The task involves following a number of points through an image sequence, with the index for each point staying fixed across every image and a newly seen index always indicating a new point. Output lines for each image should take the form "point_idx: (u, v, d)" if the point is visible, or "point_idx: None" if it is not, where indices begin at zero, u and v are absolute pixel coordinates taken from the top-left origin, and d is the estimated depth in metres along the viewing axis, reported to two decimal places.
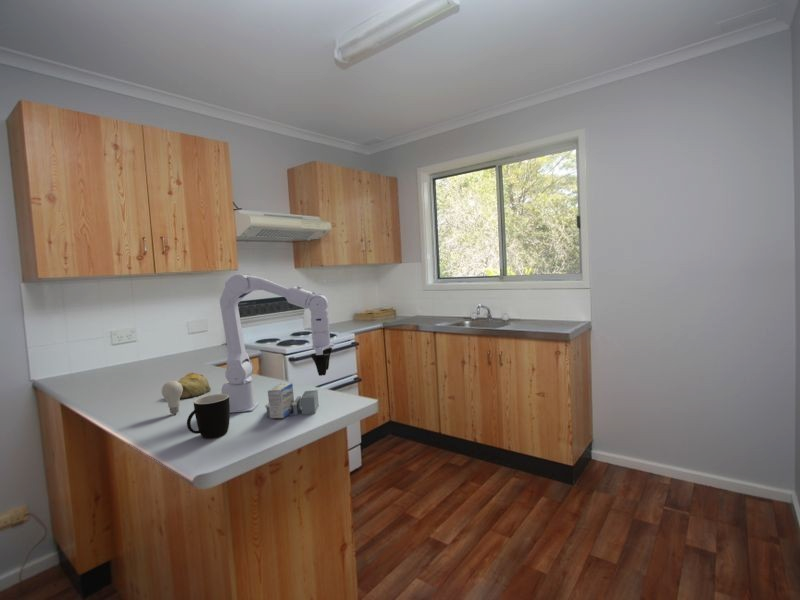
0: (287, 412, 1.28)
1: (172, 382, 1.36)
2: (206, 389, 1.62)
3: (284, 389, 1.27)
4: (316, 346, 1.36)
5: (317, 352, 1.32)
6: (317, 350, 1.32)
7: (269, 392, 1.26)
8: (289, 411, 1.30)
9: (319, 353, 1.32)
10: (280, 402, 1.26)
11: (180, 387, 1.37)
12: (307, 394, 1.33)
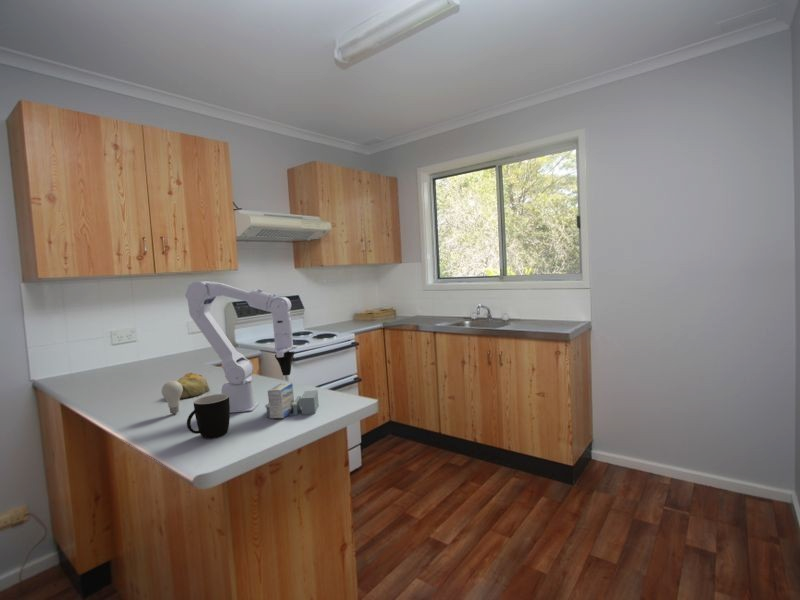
0: (287, 412, 1.28)
1: (172, 382, 1.36)
2: (205, 389, 1.62)
3: (284, 389, 1.27)
4: (278, 348, 1.35)
5: (278, 354, 1.31)
6: (278, 352, 1.31)
7: (269, 392, 1.26)
8: (289, 411, 1.30)
9: (280, 355, 1.31)
10: (280, 402, 1.26)
11: (180, 387, 1.37)
12: (307, 394, 1.33)
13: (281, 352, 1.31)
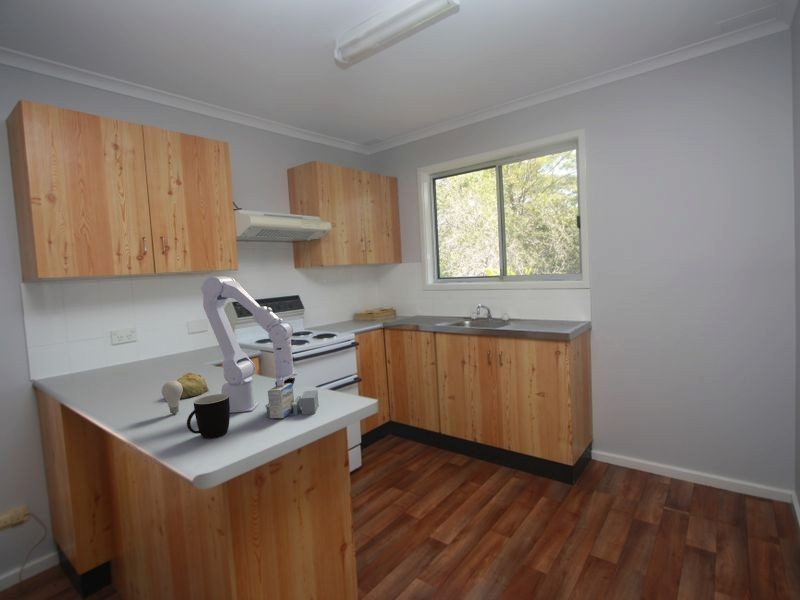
0: (287, 412, 1.28)
1: (172, 382, 1.36)
2: (204, 389, 1.62)
3: (284, 389, 1.27)
4: (278, 376, 1.34)
5: (278, 383, 1.29)
6: (278, 381, 1.29)
7: (269, 392, 1.26)
8: (289, 411, 1.30)
9: (280, 384, 1.29)
10: (280, 402, 1.26)
11: (180, 387, 1.37)
12: (307, 394, 1.33)
13: (281, 380, 1.29)
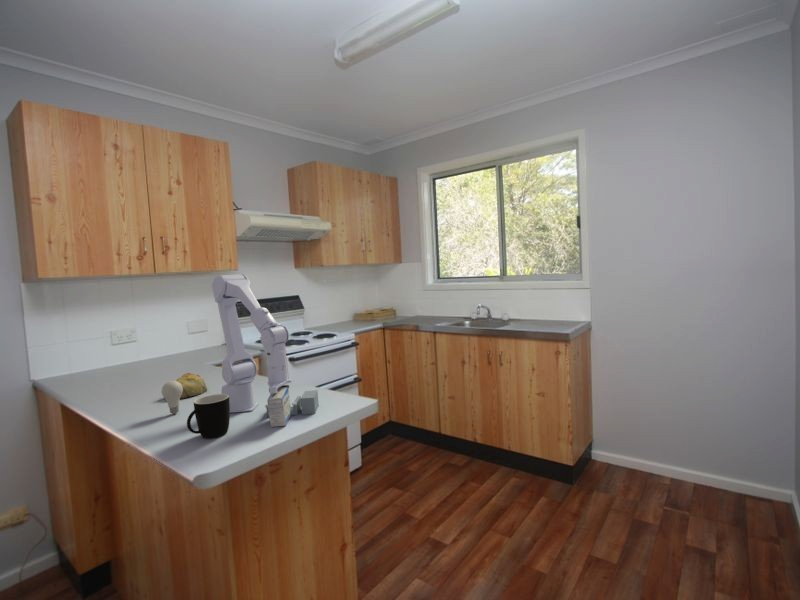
0: (287, 418, 1.23)
1: (172, 382, 1.36)
2: (203, 389, 1.62)
3: (284, 396, 1.21)
4: (271, 383, 1.25)
5: (271, 390, 1.20)
6: (271, 388, 1.20)
7: (269, 401, 1.18)
8: (288, 416, 1.24)
9: (273, 392, 1.20)
10: (282, 410, 1.19)
11: (180, 387, 1.37)
12: (307, 394, 1.33)
13: (275, 388, 1.20)
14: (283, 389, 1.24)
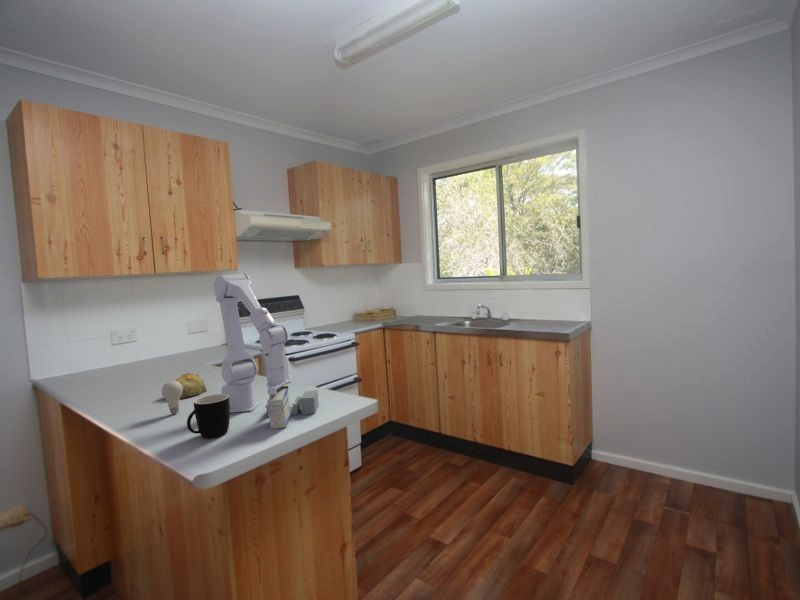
0: (287, 420, 1.21)
1: (172, 382, 1.36)
2: (202, 389, 1.62)
3: (284, 397, 1.19)
4: (270, 384, 1.23)
5: (270, 392, 1.19)
6: (270, 389, 1.19)
7: (269, 403, 1.17)
8: (288, 418, 1.23)
9: (272, 393, 1.19)
10: (282, 412, 1.18)
11: (180, 387, 1.37)
12: (307, 394, 1.33)
13: (274, 389, 1.19)
14: (282, 390, 1.23)
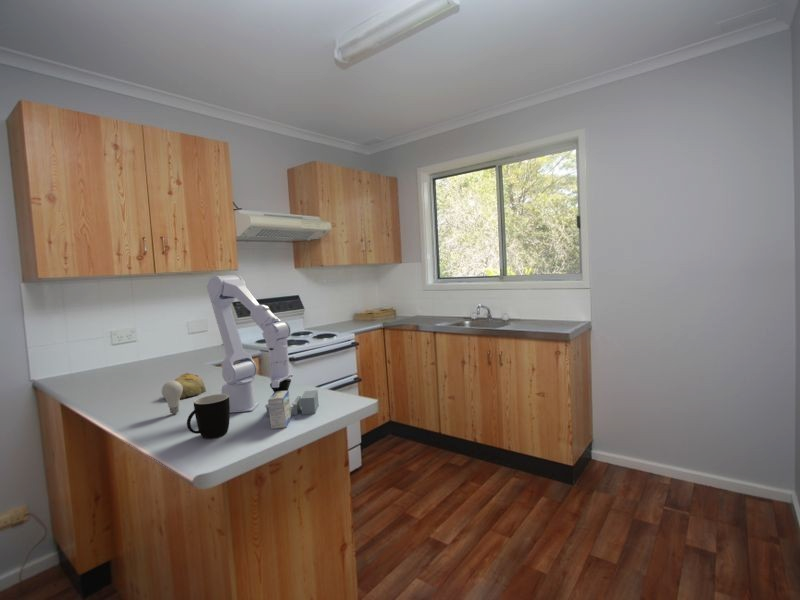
0: (288, 421, 1.22)
1: (172, 382, 1.36)
2: (201, 389, 1.61)
3: (285, 397, 1.21)
4: (273, 377, 1.28)
5: (273, 385, 1.23)
6: (273, 382, 1.23)
7: (270, 401, 1.18)
8: (288, 420, 1.23)
9: (275, 386, 1.23)
10: (283, 411, 1.19)
11: (180, 387, 1.37)
12: (307, 394, 1.33)
13: (276, 382, 1.23)
14: (284, 392, 1.24)
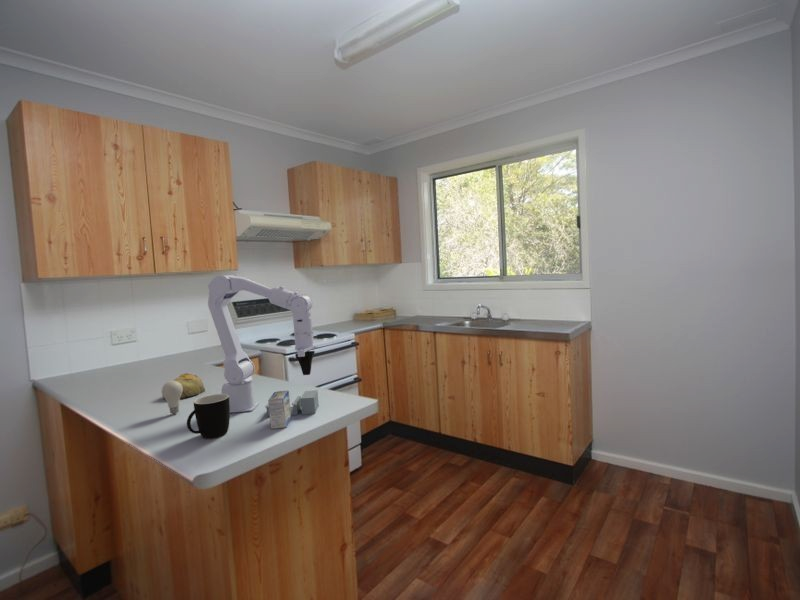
0: (288, 421, 1.22)
1: (172, 382, 1.36)
2: (200, 389, 1.61)
3: (285, 397, 1.21)
4: (298, 348, 1.33)
5: (299, 354, 1.29)
6: (299, 352, 1.29)
7: (270, 401, 1.18)
8: (288, 420, 1.23)
9: (301, 355, 1.29)
10: (283, 410, 1.19)
11: (180, 387, 1.37)
12: (307, 394, 1.33)
13: (302, 351, 1.29)
14: (284, 392, 1.24)
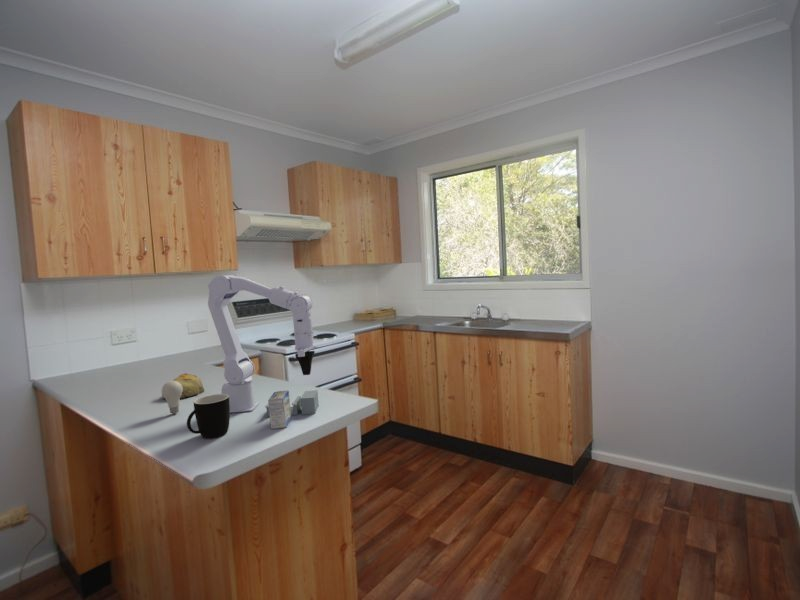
0: (288, 421, 1.22)
1: (172, 382, 1.36)
2: (200, 390, 1.61)
3: (285, 397, 1.21)
4: (298, 348, 1.33)
5: (299, 354, 1.29)
6: (299, 352, 1.29)
7: (270, 401, 1.18)
8: (288, 420, 1.23)
9: (301, 355, 1.29)
10: (283, 410, 1.19)
11: (180, 387, 1.37)
12: (307, 394, 1.33)
13: (302, 351, 1.29)
14: (284, 392, 1.24)
